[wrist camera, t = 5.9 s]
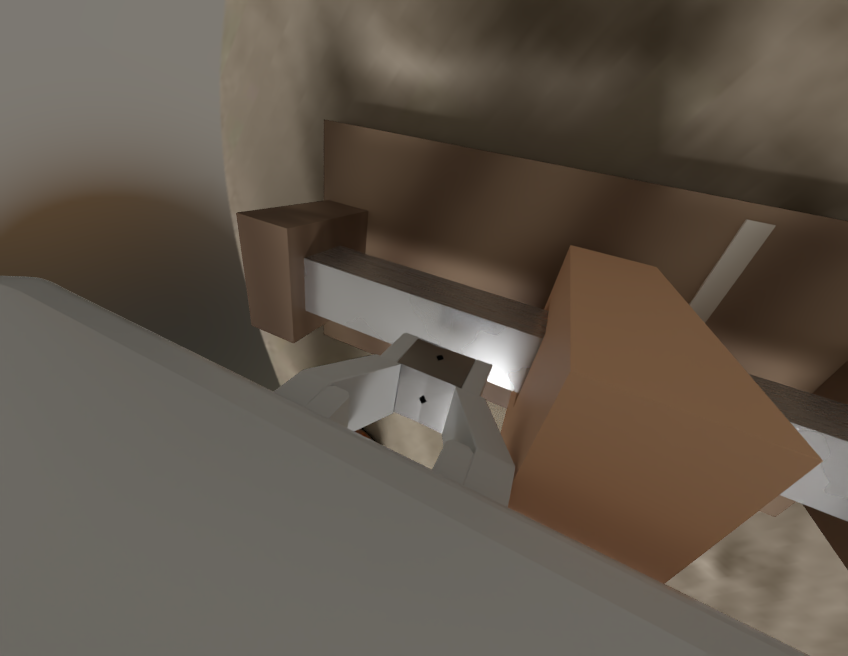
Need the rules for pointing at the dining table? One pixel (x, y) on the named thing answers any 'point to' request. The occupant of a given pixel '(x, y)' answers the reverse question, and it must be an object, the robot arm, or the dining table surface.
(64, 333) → the robot arm
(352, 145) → the rod stand
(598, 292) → the collar
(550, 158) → the dining table surface
